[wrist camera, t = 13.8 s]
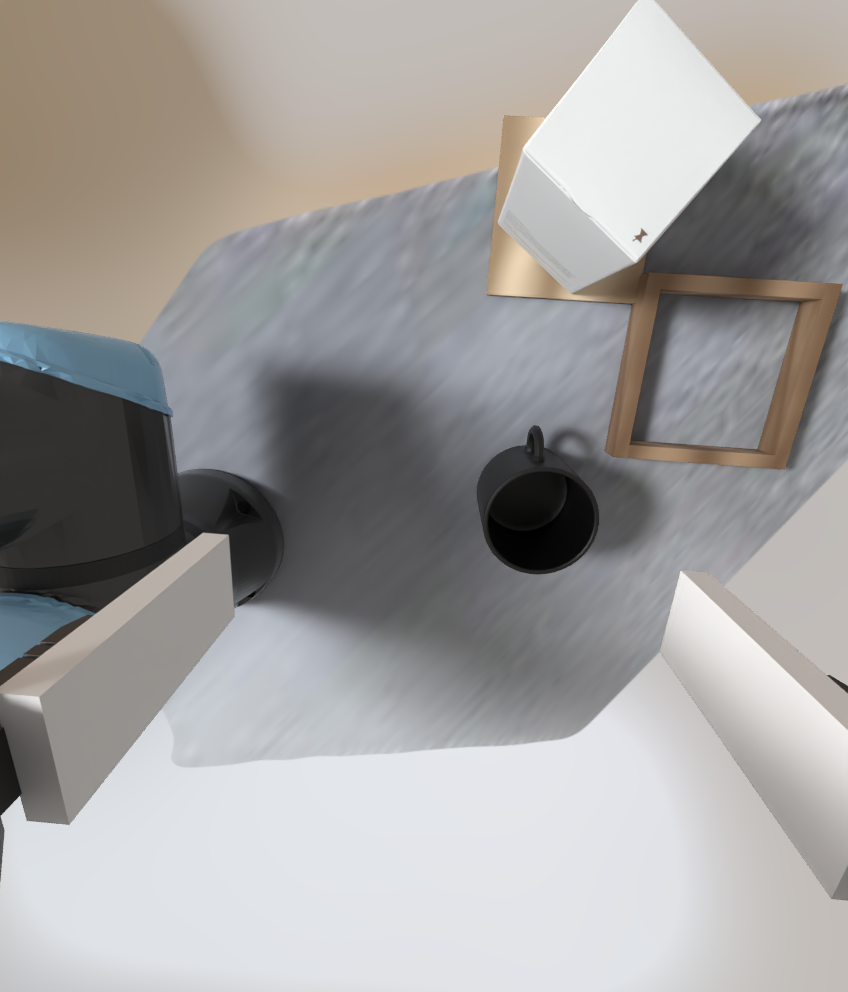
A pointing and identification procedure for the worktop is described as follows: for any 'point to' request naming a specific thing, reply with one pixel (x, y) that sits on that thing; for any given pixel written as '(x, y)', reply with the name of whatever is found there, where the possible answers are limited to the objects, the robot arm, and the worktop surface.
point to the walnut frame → (790, 384)
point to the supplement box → (623, 151)
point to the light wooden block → (514, 265)
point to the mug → (535, 509)
